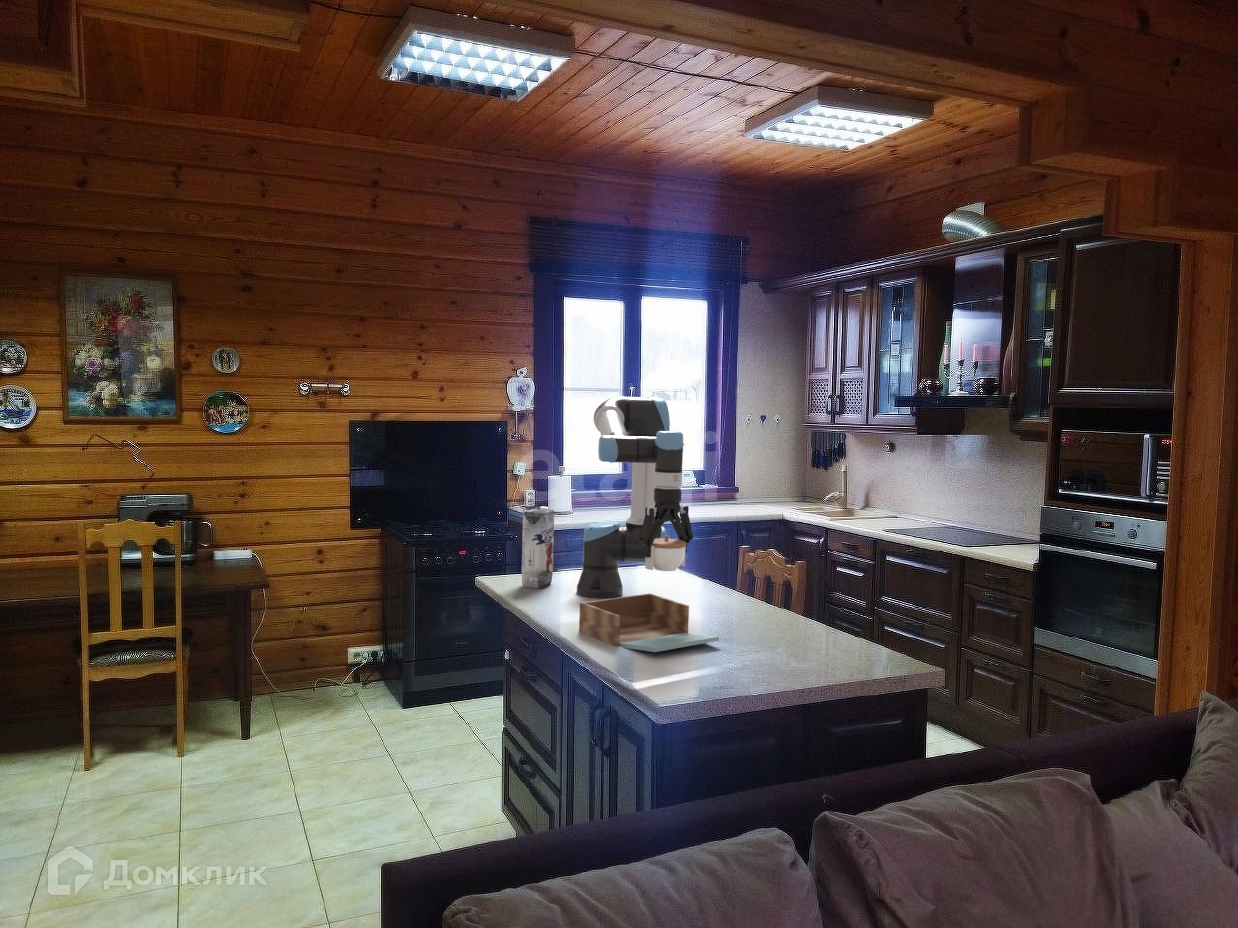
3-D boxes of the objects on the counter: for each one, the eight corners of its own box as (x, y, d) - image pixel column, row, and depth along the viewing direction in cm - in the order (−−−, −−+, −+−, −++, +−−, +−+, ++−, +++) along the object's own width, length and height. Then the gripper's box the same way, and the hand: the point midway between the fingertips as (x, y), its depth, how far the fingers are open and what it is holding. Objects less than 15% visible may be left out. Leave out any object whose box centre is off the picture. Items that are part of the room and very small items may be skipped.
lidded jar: (691, 568, 249) (692, 535, 249) (674, 574, 240) (675, 539, 239) (656, 564, 255) (657, 531, 254) (639, 569, 245) (640, 535, 245)
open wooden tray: (578, 635, 242) (579, 602, 241) (649, 624, 256) (650, 593, 256) (615, 650, 228) (616, 616, 228) (687, 638, 242) (689, 605, 242)
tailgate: (618, 642, 230) (654, 647, 218) (681, 632, 242) (718, 636, 230) (618, 646, 230) (654, 652, 218) (681, 636, 242) (719, 640, 230)
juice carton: (518, 587, 301) (520, 507, 299) (530, 581, 311) (532, 503, 309) (543, 589, 298) (545, 508, 296) (554, 583, 308) (556, 505, 306)
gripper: (643, 490, 236) (641, 573, 237) (708, 487, 250) (705, 565, 251) (626, 487, 242) (623, 568, 243) (690, 484, 256) (687, 561, 257)
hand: (665, 567), depth 247 cm, fingers closed on lidded jar, 11 cm apart
